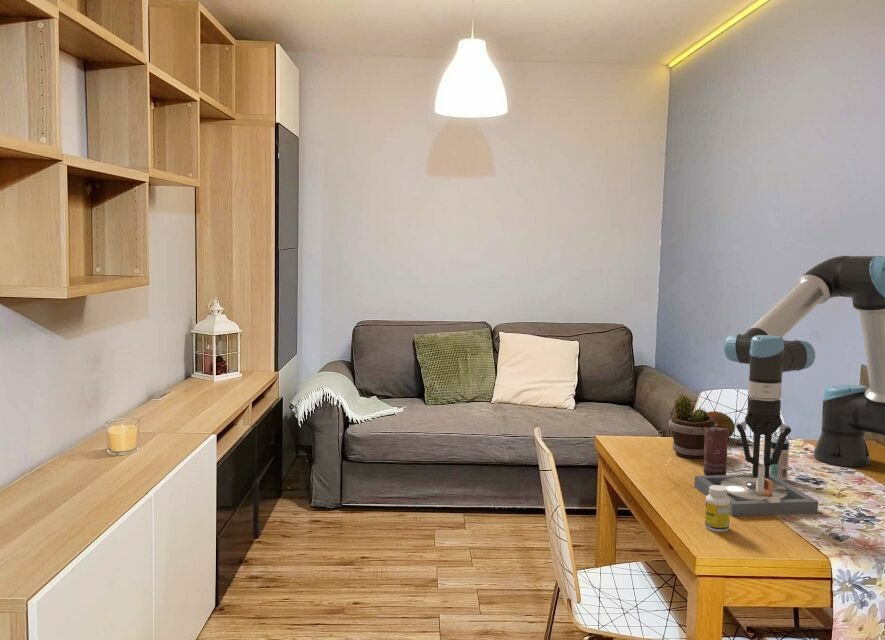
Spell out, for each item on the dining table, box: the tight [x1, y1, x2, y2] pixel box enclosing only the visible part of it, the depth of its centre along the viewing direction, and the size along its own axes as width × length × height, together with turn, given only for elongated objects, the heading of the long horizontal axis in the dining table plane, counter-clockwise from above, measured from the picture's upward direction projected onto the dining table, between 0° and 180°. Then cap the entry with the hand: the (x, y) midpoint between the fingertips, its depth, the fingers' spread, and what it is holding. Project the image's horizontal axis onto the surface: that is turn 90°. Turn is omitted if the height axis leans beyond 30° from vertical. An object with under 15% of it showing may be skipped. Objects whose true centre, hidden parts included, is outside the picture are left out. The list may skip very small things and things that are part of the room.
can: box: [703, 426, 730, 476], centre depth 214 cm, size 6×6×14 cm
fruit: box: [705, 410, 736, 438], centre depth 252 cm, size 12×12×10 cm
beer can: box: [769, 435, 790, 482], centre depth 210 cm, size 5×5×12 cm
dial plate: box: [694, 473, 819, 517], centre depth 194 cm, size 22×22×4 cm
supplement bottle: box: [704, 485, 731, 533], centre depth 175 cm, size 5×5×10 cm
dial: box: [721, 477, 787, 501], centre depth 194 cm, size 16×16×6 cm
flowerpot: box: [668, 392, 718, 459], centre depth 234 cm, size 14×15×20 cm
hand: (759, 489), depth 188 cm, fingers closed
